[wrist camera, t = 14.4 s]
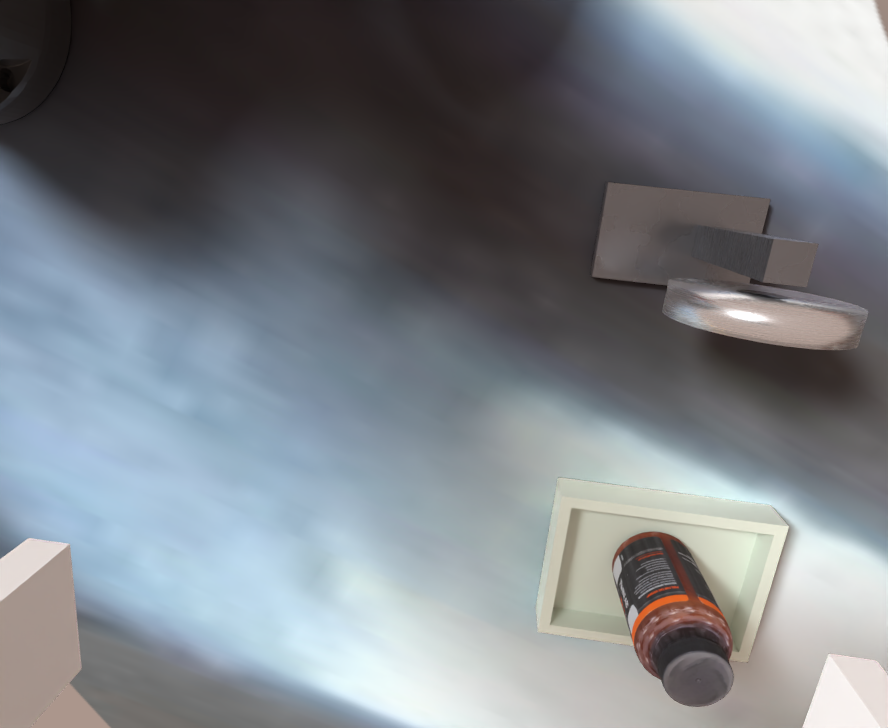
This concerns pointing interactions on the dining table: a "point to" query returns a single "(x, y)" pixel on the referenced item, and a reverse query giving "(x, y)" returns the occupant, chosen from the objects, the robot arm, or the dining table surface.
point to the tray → (644, 510)
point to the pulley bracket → (719, 266)
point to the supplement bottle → (674, 618)
